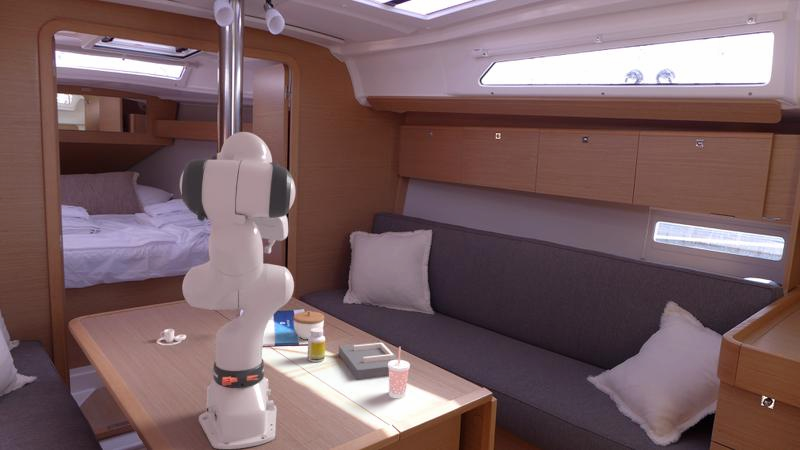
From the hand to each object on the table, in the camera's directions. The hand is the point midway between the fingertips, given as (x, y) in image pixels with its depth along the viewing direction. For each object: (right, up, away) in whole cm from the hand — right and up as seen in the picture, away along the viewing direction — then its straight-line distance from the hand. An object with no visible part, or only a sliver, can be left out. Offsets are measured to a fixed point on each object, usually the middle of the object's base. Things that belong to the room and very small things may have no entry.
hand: (252, 250), depth 162 cm
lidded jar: (+11, -32, +33) cm, 47 cm away
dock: (+34, -37, +12) cm, 51 cm away
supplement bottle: (+17, -36, +14) cm, 42 cm away
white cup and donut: (-32, -32, +21) cm, 50 cm away
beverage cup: (+43, -40, -8) cm, 59 cm away
